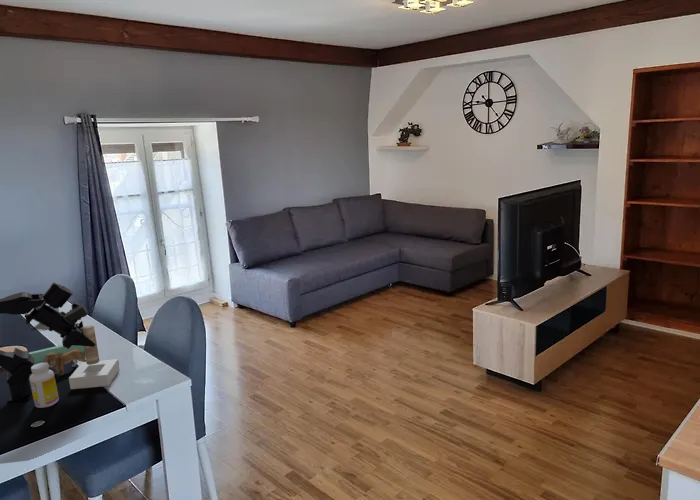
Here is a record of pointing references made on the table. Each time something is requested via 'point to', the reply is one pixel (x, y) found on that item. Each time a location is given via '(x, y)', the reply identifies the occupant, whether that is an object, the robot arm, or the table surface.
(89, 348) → the peg
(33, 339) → the table surface
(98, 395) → the table surface
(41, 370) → the supplement bottle
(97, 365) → the socket
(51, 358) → the lion figurine
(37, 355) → the container
